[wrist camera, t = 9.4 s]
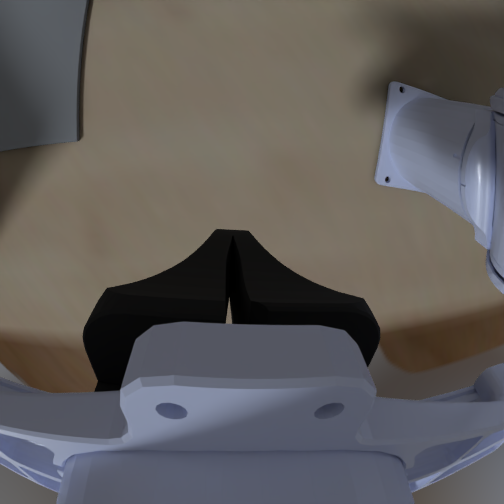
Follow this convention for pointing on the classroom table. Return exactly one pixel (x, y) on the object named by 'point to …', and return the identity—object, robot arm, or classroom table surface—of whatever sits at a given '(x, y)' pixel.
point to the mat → (40, 71)
